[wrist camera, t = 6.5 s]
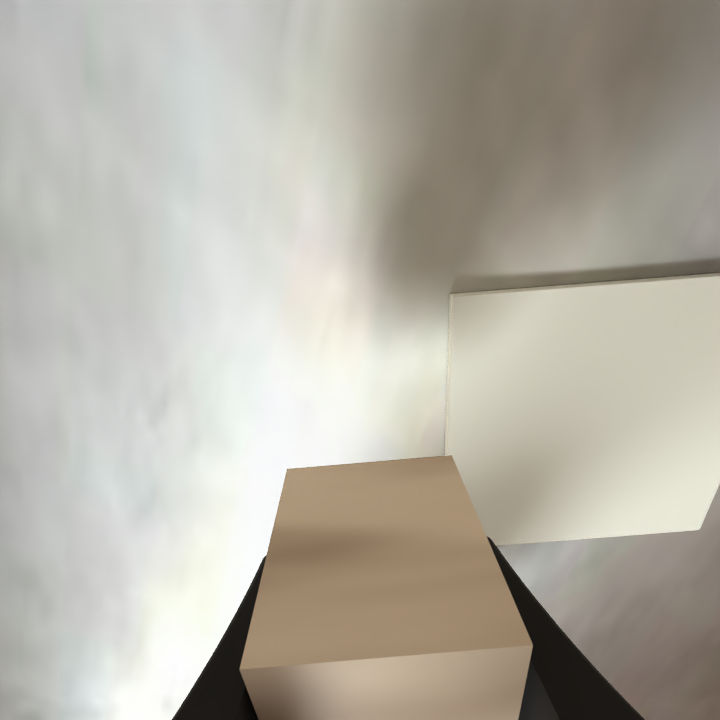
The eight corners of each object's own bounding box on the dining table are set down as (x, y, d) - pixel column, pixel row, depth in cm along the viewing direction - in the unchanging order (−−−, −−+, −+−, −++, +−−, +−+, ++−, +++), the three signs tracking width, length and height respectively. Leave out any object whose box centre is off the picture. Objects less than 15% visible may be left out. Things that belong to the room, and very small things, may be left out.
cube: (448, 567, 12) (507, 776, 8) (309, 579, 12) (286, 794, 8) (451, 455, 10) (532, 644, 6) (287, 468, 10) (239, 669, 6)
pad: (690, 521, 22) (699, 529, 22) (442, 541, 22) (444, 549, 22) (797, 266, 16) (813, 268, 15) (449, 293, 16) (453, 297, 15)
